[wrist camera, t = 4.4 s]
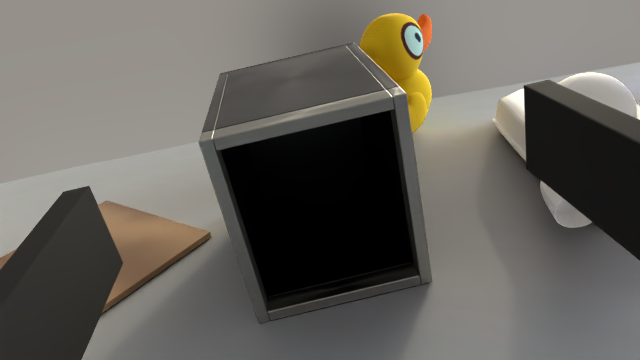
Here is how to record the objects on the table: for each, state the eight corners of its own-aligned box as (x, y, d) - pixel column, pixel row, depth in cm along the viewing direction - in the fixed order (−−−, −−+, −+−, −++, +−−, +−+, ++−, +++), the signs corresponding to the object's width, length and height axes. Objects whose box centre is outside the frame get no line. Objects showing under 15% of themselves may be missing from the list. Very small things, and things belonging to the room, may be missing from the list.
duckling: (414, 109, 49) (400, 2, 45) (462, 114, 45) (452, -2, 41) (331, 156, 43) (306, 37, 38) (379, 167, 39) (357, 36, 34)
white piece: (603, 98, 42) (606, 27, 39) (786, 227, 24) (813, 111, 21) (474, 120, 43) (468, 52, 41) (555, 256, 25) (554, 151, 23)
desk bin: (432, 282, 26) (407, 92, 21) (258, 324, 25) (198, 141, 21) (377, 177, 37) (354, 42, 33) (258, 205, 37) (219, 73, 33)
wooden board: (108, 204, 43) (106, 200, 43) (211, 236, 34) (209, 231, 34) (-187, 366, 30) (-191, 361, 30) (-142, 484, 22) (-148, 478, 21)
